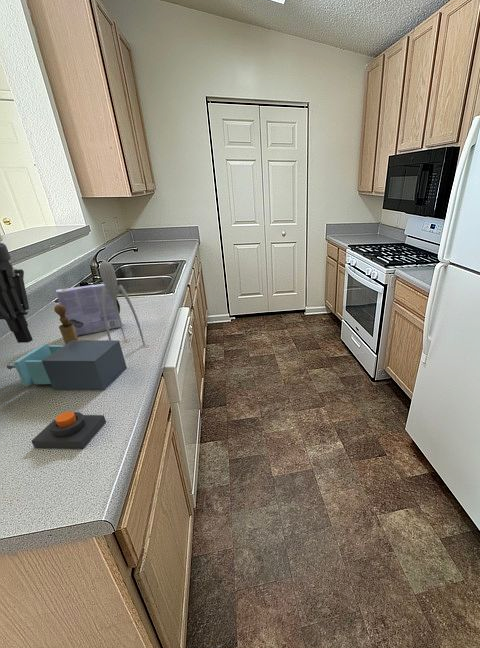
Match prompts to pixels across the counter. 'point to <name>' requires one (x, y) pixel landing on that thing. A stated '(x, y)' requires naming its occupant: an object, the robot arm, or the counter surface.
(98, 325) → the cake pan box
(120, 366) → the dark grey box
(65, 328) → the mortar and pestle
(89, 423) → the block
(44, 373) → the drawer
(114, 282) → the juicer
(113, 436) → the counter surface
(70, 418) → the button
